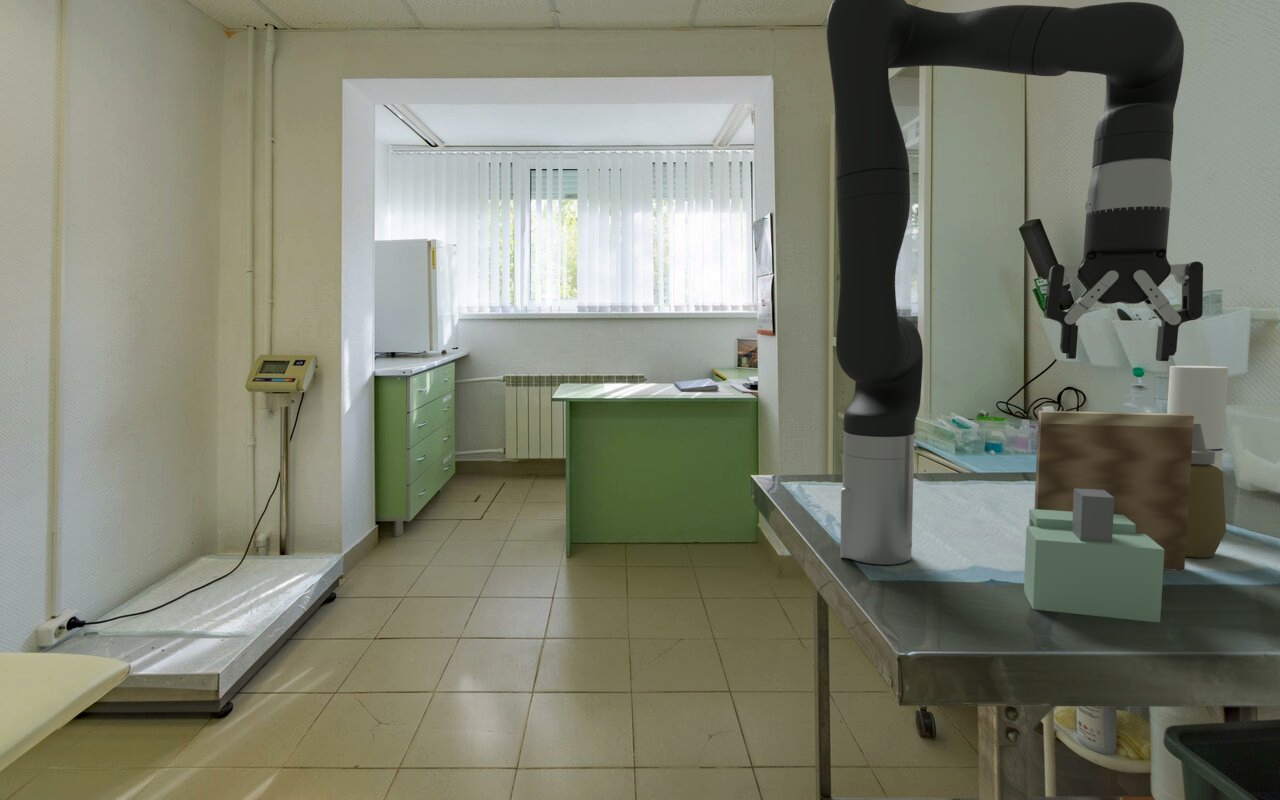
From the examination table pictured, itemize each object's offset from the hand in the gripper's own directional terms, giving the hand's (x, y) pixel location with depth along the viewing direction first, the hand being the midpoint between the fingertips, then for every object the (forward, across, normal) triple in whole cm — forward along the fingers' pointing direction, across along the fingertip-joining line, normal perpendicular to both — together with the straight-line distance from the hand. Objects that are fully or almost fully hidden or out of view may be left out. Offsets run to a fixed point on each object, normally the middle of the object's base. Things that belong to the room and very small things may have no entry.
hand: (1115, 359), depth 79 cm
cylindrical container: (+28, +19, +42) cm, 54 cm away
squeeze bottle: (+28, +15, +26) cm, 41 cm away
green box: (+28, -1, +1) cm, 28 cm away
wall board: (+28, +4, +19) cm, 34 cm away
